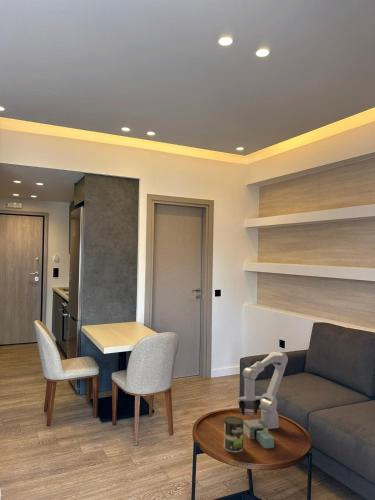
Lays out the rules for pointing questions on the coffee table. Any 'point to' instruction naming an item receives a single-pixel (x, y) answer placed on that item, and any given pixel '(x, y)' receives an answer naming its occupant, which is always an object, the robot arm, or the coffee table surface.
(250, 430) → the housing
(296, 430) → the coffee table surface
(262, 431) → the end cover
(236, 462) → the coffee table surface
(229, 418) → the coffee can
